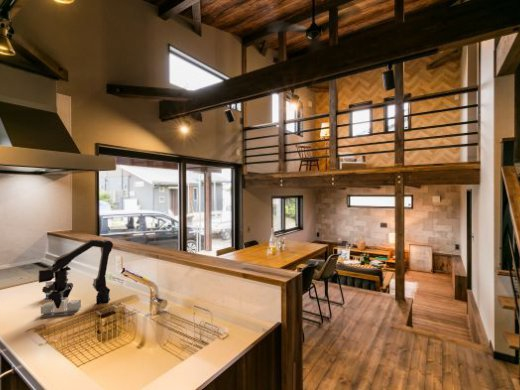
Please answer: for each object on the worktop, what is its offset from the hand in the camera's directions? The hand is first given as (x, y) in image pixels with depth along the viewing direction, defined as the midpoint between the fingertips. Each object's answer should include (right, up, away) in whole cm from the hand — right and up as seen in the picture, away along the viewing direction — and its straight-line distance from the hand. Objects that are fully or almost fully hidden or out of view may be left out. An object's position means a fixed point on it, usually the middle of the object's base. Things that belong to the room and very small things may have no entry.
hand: (61, 305), depth 159 cm
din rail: (0, -4, 0) cm, 4 cm away
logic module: (0, -3, 0) cm, 3 cm away
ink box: (-22, -4, +23) cm, 32 cm away
